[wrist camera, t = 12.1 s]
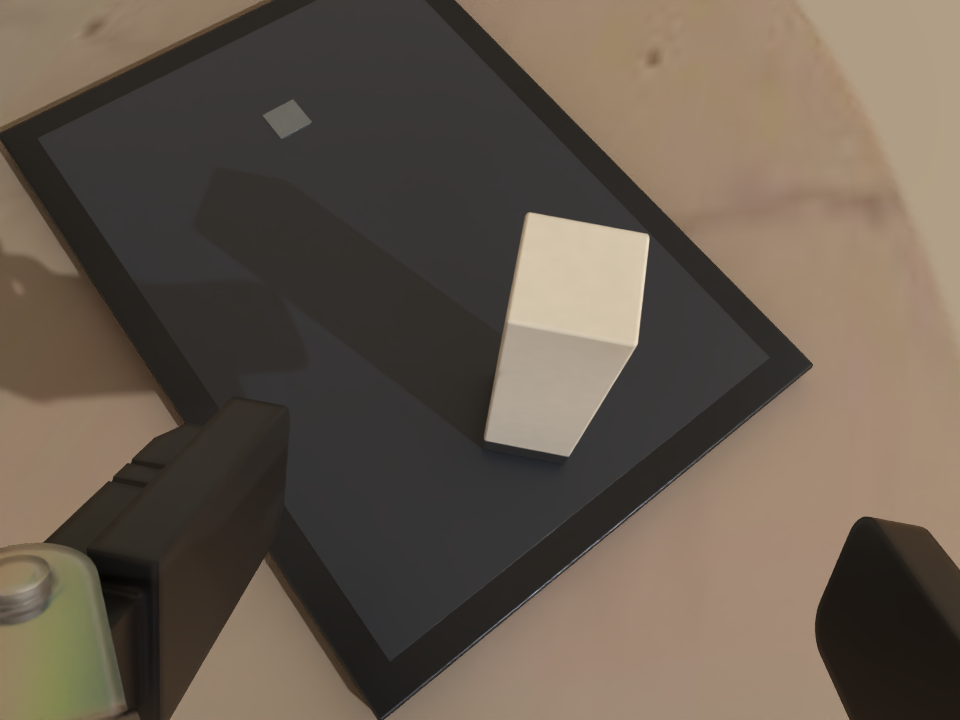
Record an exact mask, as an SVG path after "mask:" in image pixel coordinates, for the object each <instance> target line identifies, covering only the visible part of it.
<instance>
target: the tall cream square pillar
mask: <svg viewBox="0 0 960 720" xmlns="http://www.w3.org/2000/svg"><path fill="white" fill-rule="evenodd" d="M648 248H649V235H648V234H645V233H640V232H635V231H629V230H624V229H618V228H613V227H607V226H602V225H597V224H591V223H586V222H580V221H575V220H569V219H564V218H558V217H553V216H548V215H542V214H537V213H531V212H529V213H527V214H526V215H525V219H524V224H523V229H522V234H521V240H520V245H519V250H518V255H517V261H516V266H515V271H514V276H513V282H512V287H511V292H510V297H509V302H508V308H507V313H506V318H505V324H504V329H503V334H502V340H501V345H500V351H499V356H498V362H497V367H496V373H495V378H494V383H493V389H492V394H491V400H490V405H489V411H488V416H487V422H486V427H485V432H484V438H483V443H482V448H483V449H487V450H492V451H497V452H502V453H507V454H513V455H518V456H523V457H528V458H533V459H538V460H544V461H549V462H554V463H559V464H565V463H566V462H567V460H568V458H569V457H570V454H571V453H572V451H573V449H574V448H575V446H576V444H577V443H578V441H579V440H580V438H581V436H582V435H583V433H584V431H585V430H586V428H587V426H588V425H589V423H590V422H591V420H592V418H593V417H594V415H595V413H596V412H597V410H598V409H599V407H600V405H601V404H602V402H603V400H604V399H605V397H606V395H607V394H608V392H609V391H610V389H611V387H612V386H613V384H614V382H615V381H616V379H617V377H618V376H619V374H620V373H621V371H622V369H623V368H624V366H625V364H626V363H627V361H628V359H629V358H630V356H631V355H632V353H633V351H634V350H635V348H636V346H637V345H638V337H639V329H640V320H641V311H642V302H643V293H644V284H645V275H646V266H647V257H648Z"/></svg>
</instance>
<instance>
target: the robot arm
mask: <svg viewBox="0 0 960 720" xmlns="http://www.w3.org/2000/svg"><path fill="white" fill-rule="evenodd" d="M289 427H290V415H289V410H288V408H287V406H284V405H279V404H273V403H268V402H263V401H257V400H252V399H247V398H242V397H236V396H234V397H232V398H230V399H229V400H228V401H227V402H226V403H225V404H224V405H223V406H222V407H221V408H220V409H219V411H218V412H217V413H216V414H215V415H214V416H213V417H212V418H211V419H210V420H209V421H208V422H207V423H206V424H205V425H204V426H201V425H195V424H190V423H187V424H185V425H182V426H180V427H178V428H176V429H173V430H171V431H169V432H167V433H164V434H162V435H160V436H158V437H155V438H154V439H153V440H152V441H151V442H150V443H148V444H147V445H146V446H145V447H144V448H143V449H142V450H141V451H140V452H139V453H138V454H137V455H136V456H135V457H134V458H133V459H132V462H131V464H129V463H127V464H126V465H125V466H124V467H123V468H122V469H121V470H120V471H119V472H118V473H117V474H116V475H115V476H113V480H112V482H110V481H108V482H107V483H106V484H105V485H104V486H103V487H102V488H101V489H100V490H99V491H98V492H96V493H95V494H94V495H93V496H92V497H91V498H90V499H89V500H88V501H87V502H86V503H85V504H84V505H83V506H82V507H81V508H79V509H78V510H77V511H76V512H75V513H74V514H73V515H72V516H71V517H70V518H69V519H68V520H67V521H66V522H65V523H64V524H62V525H61V526H60V527H59V528H58V529H57V530H56V531H55V532H54V533H53V534H52V535H51V536H50V537H49V538H48V539H47V540H45V541H44V542H43V543H27V544H19V545H12V546H8V547H3V548H0V720H170V718H171V716H172V714H173V713H174V711H175V709H176V708H177V706H178V704H179V702H180V701H181V699H182V697H183V696H184V694H185V692H186V690H187V689H188V687H189V685H190V684H191V682H192V680H193V678H194V677H195V675H196V673H197V672H198V670H199V668H200V666H201V665H202V663H203V661H204V660H205V658H206V656H207V654H208V653H209V651H210V649H211V648H212V646H213V644H214V642H215V641H216V639H217V637H218V636H219V634H220V632H221V631H222V629H223V627H224V625H225V624H226V622H227V620H228V619H229V617H230V615H231V613H232V612H233V610H234V608H235V607H236V605H237V603H238V601H239V600H240V598H241V596H242V595H243V593H244V591H245V589H246V588H247V586H248V584H249V583H250V581H251V579H252V577H253V576H254V574H255V572H256V571H257V569H258V567H259V565H260V564H261V562H262V560H263V559H264V557H265V555H266V553H267V552H268V550H269V548H270V547H271V545H272V543H273V541H274V539H275V536H276V534H277V531H278V528H279V524H280V521H281V517H282V512H283V507H284V499H285V485H286V470H287V456H288V442H289ZM815 635H816V642H817V647H818V650H819V653H820V655H821V657H822V660H823V662H824V664H825V666H826V668H827V671H828V673H829V675H830V677H831V679H832V682H833V684H834V686H835V688H836V691H837V693H838V695H839V697H840V699H841V702H842V704H843V706H844V708H845V711H846V713H847V715H848V717H849V719H850V720H960V569H959V568H958V567H957V566H956V565H955V563H954V562H953V561H952V560H951V558H950V557H949V556H948V555H947V553H946V552H945V551H944V550H943V548H942V547H941V546H940V545H939V543H938V542H937V541H936V540H935V538H934V537H933V536H932V535H931V533H930V532H929V531H928V530H927V529H925V528H923V527H920V526H915V525H910V524H904V523H899V522H894V521H888V520H883V519H878V518H873V517H862V518H860V519H859V520H857V522H856V523H855V524H854V525H853V527H852V528H851V530H850V532H849V535H848V537H847V539H846V542H845V544H844V546H843V549H842V551H841V553H840V556H839V558H838V560H837V563H836V565H835V568H834V570H833V572H832V575H831V577H830V579H829V582H828V584H827V586H826V589H825V591H824V593H823V596H822V598H821V600H820V603H819V606H818V609H817V614H816V621H815Z"/></svg>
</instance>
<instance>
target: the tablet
mask: <svg viewBox="0 0 960 720" xmlns="http://www.w3.org/2000/svg"><path fill="white" fill-rule="evenodd" d="M0 141H1V142H2V144H3V145H4V147H5V149H6V150H7V152H8V153H9V155H10V156H11V158H12V159H13V161H14V162H15V164H16V165H17V167H18V168H19V170H20V172H21V173H22V175H23V176H24V178H25V179H26V181H27V182H28V184H29V185H30V187H31V188H32V190H33V191H34V193H35V195H36V196H37V198H38V199H39V201H40V202H41V204H42V205H43V207H44V208H45V210H46V211H47V213H48V215H49V216H50V218H51V219H52V221H53V222H54V224H55V225H56V227H57V228H58V230H59V231H60V233H61V234H62V236H63V238H64V239H65V241H66V242H67V244H68V245H69V247H70V248H71V250H72V251H73V253H74V254H75V256H76V257H77V259H78V261H79V262H80V264H81V265H82V267H83V268H84V270H85V271H86V273H87V274H88V276H89V277H90V279H91V280H92V282H93V284H94V285H95V287H96V288H97V290H98V291H99V293H100V294H101V296H102V297H103V299H104V300H105V302H106V304H107V305H108V307H109V308H110V310H111V311H112V313H113V314H114V316H115V317H116V319H117V320H118V322H119V323H120V325H121V327H122V328H123V330H124V331H125V333H126V334H127V336H128V337H129V339H130V340H131V342H132V343H133V345H134V346H135V348H136V350H137V351H138V353H139V354H140V356H141V357H142V359H143V360H144V362H145V363H146V365H147V366H148V368H149V369H150V371H151V373H152V374H153V376H154V377H155V379H156V380H157V382H158V383H159V385H160V386H161V388H162V389H163V391H164V393H165V394H166V396H167V397H168V399H169V400H170V402H171V403H172V405H173V406H174V408H175V409H176V411H177V412H178V414H179V416H180V417H181V419H182V420H183V422H184V423H185V424H187V423H190V424H195V425H201V426H204V425H205V424H206V423H207V422H208V421H209V420H210V419H211V418H212V417H213V416H214V415H215V414H216V413H217V412H218V411H219V409H220V408H221V407H222V406H223V405H224V404H225V403H226V402H227V401H228V400H229V399H230V398H232V397H234V396H236V397H242V398H247V399H252V400H257V401H263V402H268V403H273V404H279V405H284V406H287V408H288V410H289V415H290V427H289V442H288V456H287V470H286V485H285V499H284V507H283V512H282V517H281V521H280V524H279V528H278V531H277V534H276V536H275V539H274V541H273V543H272V545H271V547H270V548H269V550H268V552H269V554H270V555H271V557H272V558H273V560H274V561H275V563H276V564H277V566H278V567H279V569H280V571H281V572H282V574H283V575H284V577H285V578H286V580H287V581H288V583H289V584H290V586H291V587H292V589H293V590H294V592H295V594H296V595H297V597H298V598H299V600H300V601H301V603H302V604H303V606H304V607H305V609H306V610H307V612H308V613H309V615H310V617H311V618H312V620H313V621H314V623H315V624H316V626H317V627H318V629H319V630H320V632H321V633H322V635H323V637H324V638H325V640H326V641H327V643H328V644H329V646H330V647H331V649H332V650H333V652H334V653H335V655H336V656H337V658H338V660H339V661H340V663H341V664H342V666H343V667H344V669H345V670H346V672H347V673H348V675H349V676H350V678H351V679H352V681H353V683H354V684H355V686H356V687H357V689H358V690H359V692H360V693H361V695H362V696H363V698H364V699H365V701H366V702H367V704H368V706H369V707H370V709H371V710H372V712H373V713H374V715H375V716H376V718H377V719H378V720H384V719H386V718H387V717H388V716H389V715H390V714H392V713H393V712H394V711H395V710H396V709H398V708H399V707H400V706H401V705H403V704H404V703H405V702H406V701H407V700H409V699H410V698H411V697H412V696H413V695H415V694H416V693H417V692H418V691H420V690H421V689H422V688H423V687H424V686H426V685H427V684H428V683H429V682H430V681H432V680H433V679H434V678H435V677H437V676H438V675H439V674H440V673H441V672H443V671H444V670H445V669H446V668H447V667H449V666H450V665H451V664H452V663H454V662H455V661H456V660H457V659H458V658H460V657H461V656H462V655H463V654H464V653H466V652H467V651H468V650H469V649H471V648H472V647H473V646H474V645H475V644H477V643H478V642H479V641H480V640H481V639H483V638H484V637H485V636H486V635H488V634H489V633H490V632H491V631H492V630H494V629H495V628H496V627H497V626H499V625H500V624H501V623H502V622H503V621H505V620H506V619H507V618H508V617H509V616H511V615H512V614H513V613H514V612H516V611H517V610H518V609H519V608H520V607H522V606H523V605H524V604H525V603H526V602H528V601H529V600H530V599H531V598H533V597H534V596H535V595H536V594H537V593H539V592H540V591H541V590H542V589H543V588H545V587H546V586H547V585H548V584H550V583H551V582H552V581H553V580H554V579H556V578H557V577H558V576H559V575H560V574H562V573H563V572H564V571H565V570H567V569H568V568H569V567H570V566H571V565H573V564H574V563H575V562H576V561H577V560H579V559H580V558H581V557H582V556H584V555H585V554H586V553H587V552H588V551H590V550H591V549H592V548H593V547H594V546H596V545H597V544H598V543H599V542H601V541H602V540H603V539H604V538H605V537H607V536H608V535H609V534H610V533H611V532H613V531H614V530H615V529H616V528H618V527H619V526H620V525H621V524H622V523H624V522H625V521H626V520H627V519H628V518H630V517H631V516H632V515H633V514H635V513H636V512H637V511H638V510H639V509H641V508H642V507H643V506H644V505H645V504H647V503H648V502H649V501H650V500H652V499H653V498H654V497H655V496H656V495H658V494H659V493H660V492H661V491H663V490H664V489H665V488H666V487H667V486H669V485H670V484H671V483H672V482H673V481H675V480H676V479H677V478H678V477H680V476H681V475H682V474H683V473H684V472H686V471H687V470H688V469H689V468H690V467H692V466H693V465H694V464H695V463H697V462H698V461H699V460H700V459H701V458H703V457H704V456H705V455H706V454H707V453H709V452H710V451H711V450H712V449H714V448H715V447H716V446H717V445H718V444H720V443H721V442H722V441H723V440H724V439H726V438H727V437H728V436H729V435H731V434H732V433H733V432H734V431H735V430H737V429H738V428H739V427H740V426H741V425H743V424H744V423H745V422H746V421H748V420H749V419H750V418H751V417H752V416H754V415H755V414H756V413H757V412H758V411H760V410H761V409H762V408H763V407H765V406H766V405H767V404H768V403H769V402H771V401H772V400H773V399H774V398H775V397H777V396H778V395H779V394H780V393H782V392H783V391H784V390H785V389H786V388H788V387H789V386H790V385H791V384H792V383H794V382H795V381H796V380H797V379H799V378H800V377H801V376H802V375H803V374H805V373H806V372H807V371H808V370H810V369H811V368H812V366H813V364H812V363H811V362H810V361H809V360H808V359H807V358H806V357H805V356H804V354H803V353H802V352H801V351H800V350H799V349H798V348H797V347H796V346H795V345H794V344H793V343H792V342H791V341H790V340H789V339H788V338H787V337H786V336H785V335H784V334H783V333H782V332H781V331H780V330H779V329H778V328H777V327H776V326H775V325H774V324H773V323H772V322H771V321H770V320H769V319H768V318H767V317H766V316H765V315H764V314H763V313H762V312H761V311H760V310H759V309H758V308H757V307H756V306H755V305H754V304H753V303H752V302H751V301H750V300H749V299H748V298H747V297H746V296H745V295H744V294H743V292H742V291H741V290H740V289H739V288H738V287H737V286H736V285H735V284H734V283H733V282H732V281H731V280H730V279H729V278H728V277H727V276H726V275H725V274H724V273H723V272H722V271H721V270H720V269H719V268H718V267H717V266H716V265H715V264H714V263H713V262H712V261H711V260H710V259H709V258H708V257H707V256H706V255H705V254H704V253H703V252H702V251H701V250H700V249H699V248H698V247H697V246H696V245H695V244H694V243H693V242H692V241H691V240H690V239H689V238H688V237H687V236H686V235H685V234H684V233H683V232H682V230H681V229H680V228H679V227H678V226H677V225H676V224H675V223H674V222H673V221H672V220H671V219H670V218H669V217H668V216H667V215H666V214H665V213H664V212H663V211H662V210H661V209H660V208H659V207H658V206H657V205H656V204H655V203H654V202H653V201H652V200H651V199H650V198H649V197H648V196H647V195H646V194H645V193H644V192H643V191H642V190H641V189H640V188H639V187H638V186H637V185H636V184H635V183H634V182H633V181H632V180H631V179H630V178H629V177H628V176H627V175H626V174H625V173H624V172H623V171H622V170H621V169H620V167H619V166H618V165H617V164H616V163H615V162H614V161H613V160H612V159H611V158H610V157H609V156H608V155H607V154H606V153H605V152H604V151H603V150H602V149H601V148H600V147H599V146H598V145H597V144H596V143H595V142H594V141H593V140H592V139H591V138H590V137H589V136H588V135H587V134H586V133H585V132H584V131H583V130H582V129H581V128H580V127H579V126H578V125H577V124H576V123H575V122H574V121H573V120H572V119H571V118H570V117H569V116H568V115H567V114H566V113H565V112H564V111H563V110H562V109H561V108H560V107H559V105H558V104H557V103H556V102H555V101H554V100H553V99H552V98H551V97H550V96H549V95H548V94H547V93H546V92H545V91H544V90H543V89H542V88H541V87H540V86H539V85H538V84H537V83H536V82H535V81H534V80H533V79H532V78H531V77H530V76H529V75H528V74H527V73H526V72H525V71H524V70H523V69H522V68H521V67H520V66H519V65H518V64H517V63H516V62H515V61H514V60H513V59H512V58H511V57H510V56H509V55H508V54H507V53H506V52H505V51H504V50H503V49H502V48H501V47H500V46H499V45H498V43H497V42H496V41H495V40H494V39H493V38H492V37H491V36H490V35H489V34H488V33H487V32H486V31H485V30H484V29H483V28H482V27H481V26H480V25H479V24H478V23H477V22H476V21H475V20H474V19H473V18H472V17H471V16H470V15H469V14H468V13H467V12H466V11H465V10H464V9H463V8H462V7H461V6H460V5H459V4H458V3H457V2H456V1H455V0H273V1H271V2H269V3H267V4H265V5H263V6H261V7H259V8H257V9H255V10H253V11H250V12H248V13H246V14H244V15H242V16H240V17H238V18H236V19H234V20H232V21H230V22H228V23H226V24H224V25H222V26H220V27H217V28H215V29H213V30H211V31H209V32H207V33H205V34H203V35H201V36H199V37H197V38H195V39H193V40H191V41H189V42H187V43H184V44H182V45H180V46H178V47H176V48H174V49H172V50H170V51H168V52H166V53H164V54H162V55H160V56H158V57H156V58H154V59H152V60H149V61H147V62H145V63H143V64H141V65H139V66H137V67H135V68H133V69H131V70H129V71H127V72H125V73H123V74H121V75H119V76H116V77H114V78H112V79H110V80H108V81H106V82H104V83H102V84H100V85H98V86H96V87H94V88H92V89H90V90H88V91H86V92H83V93H81V94H79V95H77V96H75V97H73V98H71V99H69V100H67V101H65V102H63V103H61V104H59V105H57V106H55V107H53V108H51V109H48V110H46V111H44V112H42V113H40V114H38V115H36V116H34V117H32V118H30V119H28V120H26V121H24V122H22V123H20V124H18V125H15V126H13V127H11V128H9V129H7V130H5V131H3V132H1V133H0ZM529 212H531V213H537V214H542V215H548V216H553V217H558V218H564V219H569V220H575V221H580V222H586V223H591V224H597V225H602V226H607V227H613V228H618V229H624V230H629V231H635V232H640V233H645V234H648V235H649V248H648V257H647V266H646V275H645V284H644V293H643V302H642V311H641V320H640V329H639V337H638V345H637V346H636V348H635V350H634V351H633V353H632V355H631V356H630V358H629V359H628V361H627V363H626V364H625V366H624V368H623V369H622V371H621V373H620V374H619V376H618V377H617V379H616V381H615V382H614V384H613V386H612V387H611V389H610V391H609V392H608V394H607V395H606V397H605V399H604V400H603V402H602V404H601V405H600V407H599V409H598V410H597V412H596V413H595V415H594V417H593V418H592V420H591V422H590V423H589V425H588V426H587V428H586V430H585V431H584V433H583V435H582V436H581V438H580V440H579V441H578V443H577V444H576V446H575V448H574V449H573V451H572V453H571V454H570V457H569V458H568V460H567V462H566V463H565V464H559V463H554V462H549V461H544V460H538V459H533V458H528V457H523V456H518V455H513V454H507V453H502V452H497V451H492V450H487V449H483V448H482V443H483V438H484V432H485V427H486V422H487V416H488V411H489V405H490V400H491V394H492V389H493V383H494V378H495V373H496V367H497V362H498V356H499V351H500V345H501V340H502V334H503V329H504V324H505V318H506V313H507V308H508V302H509V297H510V292H511V287H512V282H513V276H514V271H515V266H516V261H517V255H518V250H519V245H520V240H521V234H522V229H523V224H524V219H525V215H526V214H527V213H529Z"/></svg>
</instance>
